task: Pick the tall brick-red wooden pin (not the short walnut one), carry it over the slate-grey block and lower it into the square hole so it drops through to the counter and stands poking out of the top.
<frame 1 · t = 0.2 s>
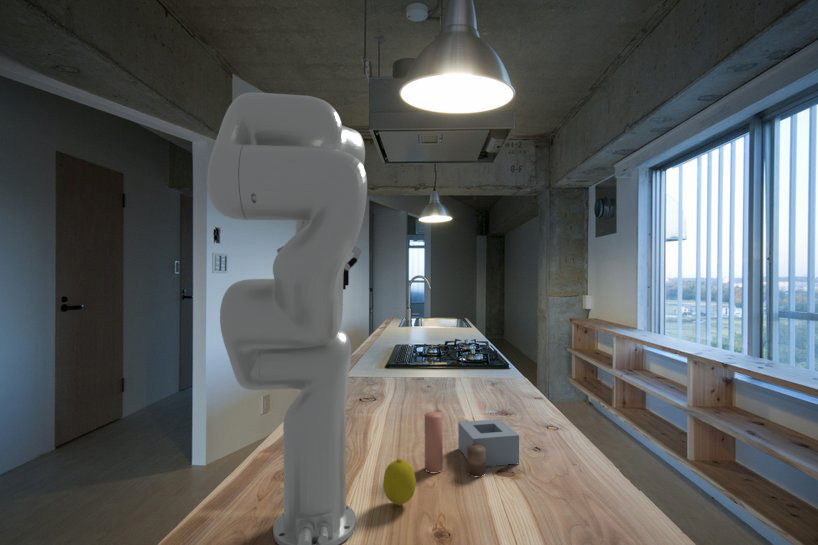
hand: (320, 289, 91), 36 cm above the counter, tool pointing down, fingers open, 9 cm apart
lemon: (399, 506, 75), on the counter
short pin: (476, 472, 87), on the counter
hole block: (487, 455, 95), on the counter
long pin: (433, 469, 88), on the counter
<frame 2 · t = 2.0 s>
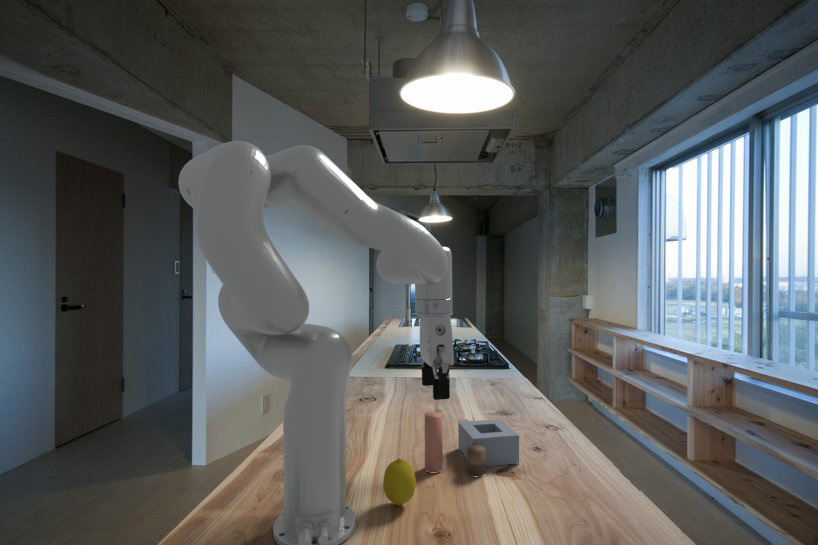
hand: (435, 391, 88), 16 cm above the counter, tool pointing down, fingers open, 9 cm apart
nothing on the counter moved.
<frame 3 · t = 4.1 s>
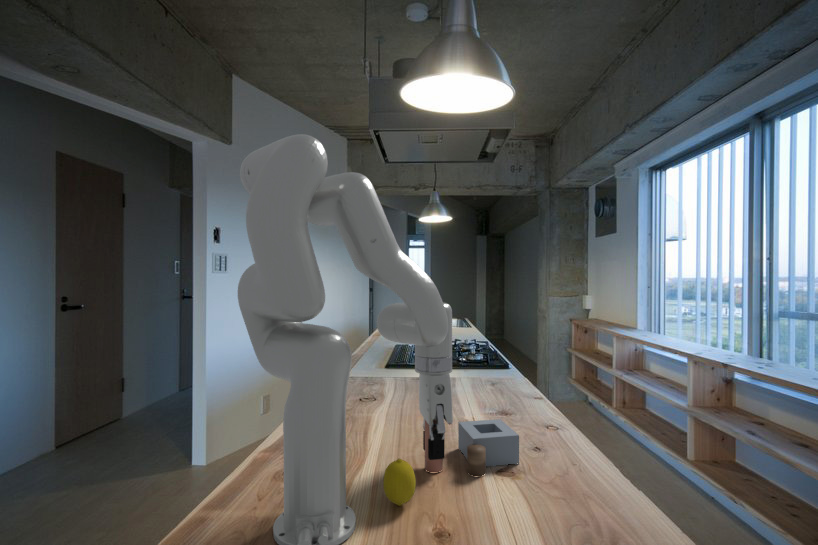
hand: (433, 453, 88), 3 cm above the counter, tool pointing down, fingers closed on long pin, 3 cm apart
long pin: (433, 469, 88), on the counter, touching gripper
everything else where it was.
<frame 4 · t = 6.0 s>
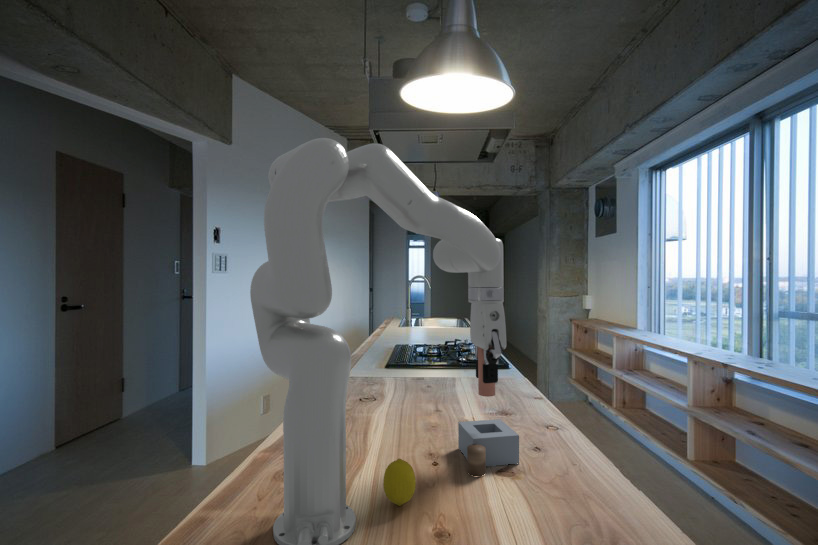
hand: (486, 379, 94), 17 cm above the counter, tool pointing down, fingers closed on long pin, 3 cm apart
long pin: (486, 394, 94), point 13 cm above the counter, touching gripper
everything else where it was.
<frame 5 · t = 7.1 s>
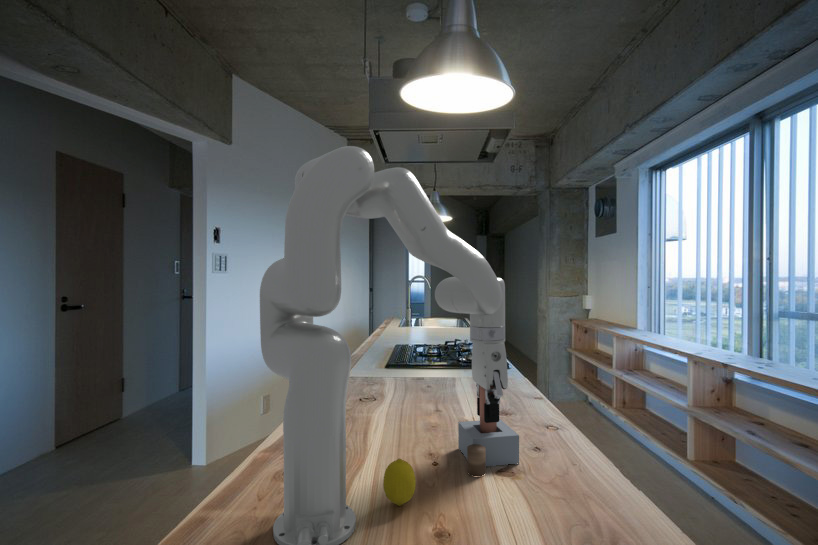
hand: (488, 417, 95), 8 cm above the counter, tool pointing down, fingers closed on long pin, 3 cm apart
long pin: (488, 432, 95), point 5 cm above the counter, touching gripper
everything else where it was.
when the fingers open (7 cm above the counter, at t = 7.9 s): long pin drops 4 cm, resting in hole block.
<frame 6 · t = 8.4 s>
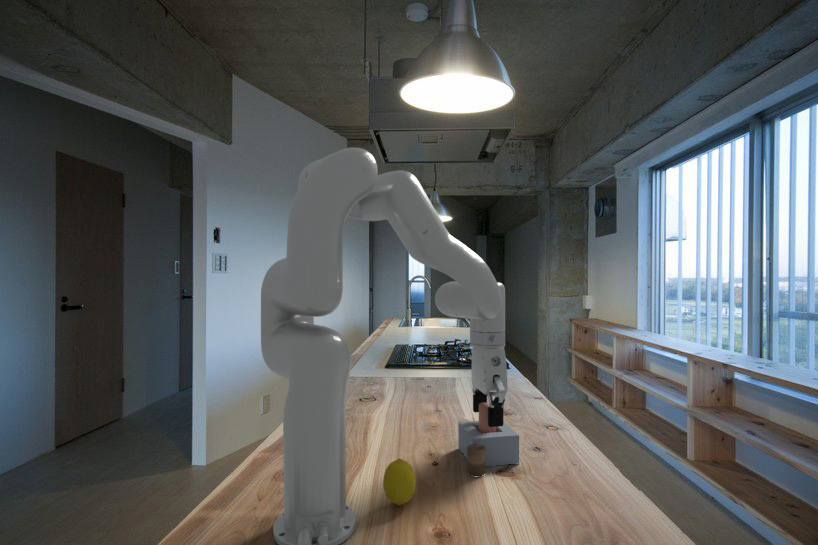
hand: (487, 418, 94), 8 cm above the counter, tool pointing down, fingers open, 8 cm apart
long pin: (487, 455, 95), resting in hole block
everything else where it was.
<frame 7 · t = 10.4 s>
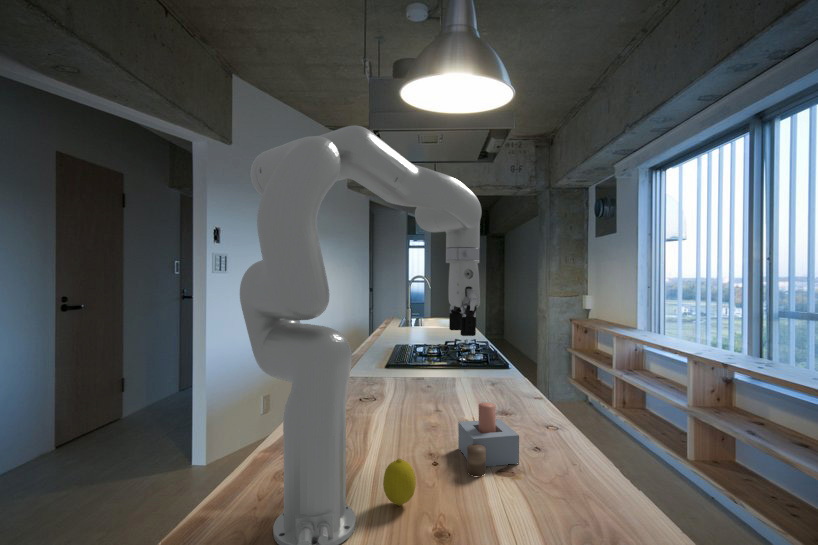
hand: (461, 332, 98), 26 cm above the counter, tool pointing down, fingers open, 9 cm apart
nothing on the counter moved.
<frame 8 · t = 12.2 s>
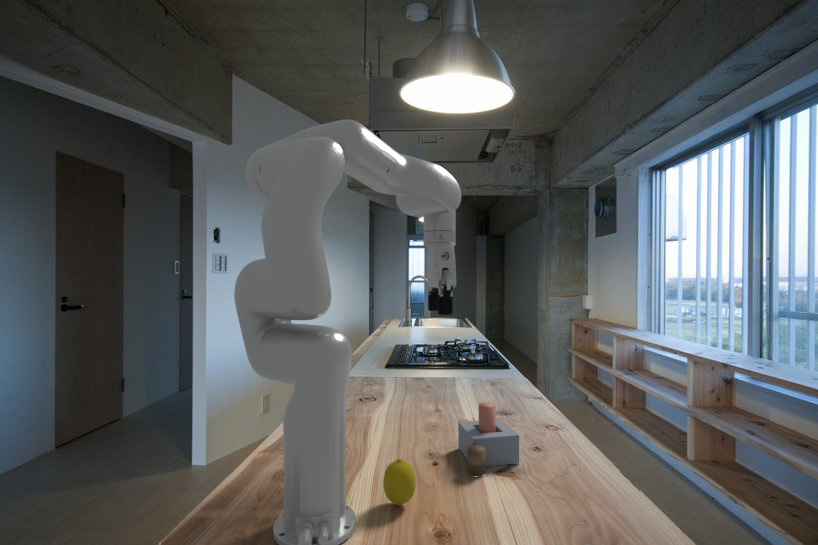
hand: (439, 312, 103), 30 cm above the counter, tool pointing down, fingers open, 9 cm apart
nothing on the counter moved.
at the end: long pin 0.2 cm off-centre on the hole block, point 0.0 cm above the hole block's base; long pin tilted 0°; the gripper is holding nothing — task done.
